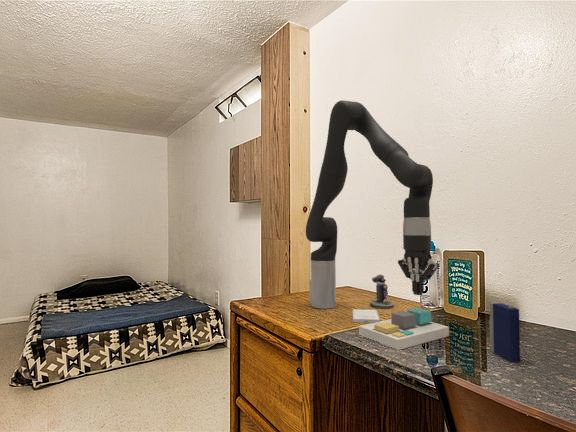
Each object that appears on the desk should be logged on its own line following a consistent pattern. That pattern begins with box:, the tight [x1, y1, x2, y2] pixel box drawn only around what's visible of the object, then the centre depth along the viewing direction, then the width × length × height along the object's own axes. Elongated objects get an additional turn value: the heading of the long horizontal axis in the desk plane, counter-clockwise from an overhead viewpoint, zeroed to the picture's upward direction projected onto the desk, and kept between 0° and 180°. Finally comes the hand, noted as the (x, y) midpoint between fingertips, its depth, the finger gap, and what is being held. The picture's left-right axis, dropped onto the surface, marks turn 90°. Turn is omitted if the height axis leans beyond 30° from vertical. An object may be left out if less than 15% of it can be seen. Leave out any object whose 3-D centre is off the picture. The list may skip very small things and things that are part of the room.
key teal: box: [406, 307, 432, 324], centre depth 103 cm, size 4×4×3 cm
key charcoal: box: [390, 310, 416, 328], centre depth 100 cm, size 4×4×3 cm
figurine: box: [369, 273, 395, 310], centre depth 134 cm, size 8×8×12 cm
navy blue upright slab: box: [488, 301, 521, 363], centre depth 84 cm, size 7×2×12 cm, turn 4°
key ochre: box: [374, 322, 399, 335], centre depth 96 cm, size 4×4×3 cm
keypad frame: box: [358, 318, 450, 351], centre depth 100 cm, size 14×20×3 cm
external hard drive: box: [352, 308, 381, 324], centre depth 119 cm, size 2×8×12 cm
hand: (418, 294), depth 103 cm, fingers closed
